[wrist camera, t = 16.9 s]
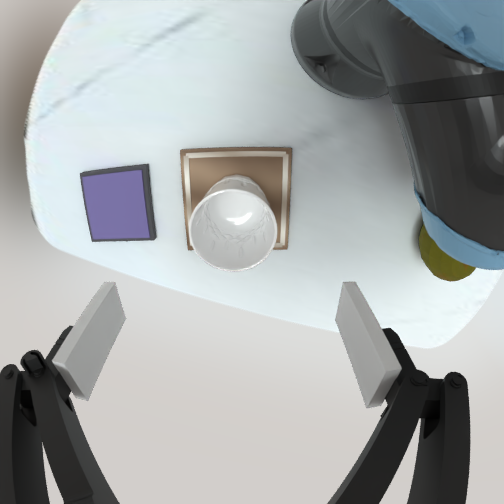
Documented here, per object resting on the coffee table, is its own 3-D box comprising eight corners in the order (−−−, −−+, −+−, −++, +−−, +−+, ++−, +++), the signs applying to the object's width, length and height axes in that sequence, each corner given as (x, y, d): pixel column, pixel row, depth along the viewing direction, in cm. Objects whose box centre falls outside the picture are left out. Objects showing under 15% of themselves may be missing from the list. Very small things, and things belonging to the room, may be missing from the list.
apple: (404, 212, 36) (447, 244, 26) (452, 193, 34) (499, 218, 24) (411, 268, 40) (446, 308, 30) (455, 247, 38) (494, 280, 29)
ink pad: (83, 172, 32) (78, 174, 31) (148, 164, 32) (144, 165, 31) (95, 238, 37) (91, 242, 35) (156, 237, 37) (153, 241, 36)
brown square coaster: (182, 149, 32) (179, 150, 31) (290, 147, 32) (292, 148, 31) (189, 246, 37) (187, 250, 36) (286, 246, 38) (287, 250, 37)
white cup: (243, 156, 31) (241, 170, 22) (281, 207, 34) (294, 241, 25) (191, 195, 33) (170, 225, 24) (230, 242, 36) (225, 285, 27)
